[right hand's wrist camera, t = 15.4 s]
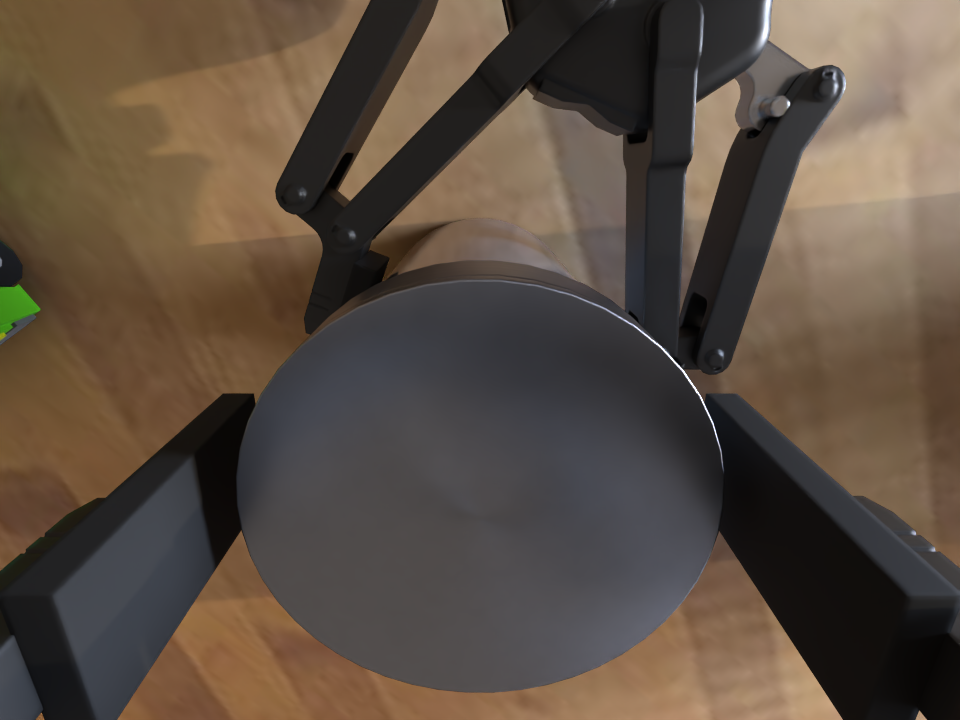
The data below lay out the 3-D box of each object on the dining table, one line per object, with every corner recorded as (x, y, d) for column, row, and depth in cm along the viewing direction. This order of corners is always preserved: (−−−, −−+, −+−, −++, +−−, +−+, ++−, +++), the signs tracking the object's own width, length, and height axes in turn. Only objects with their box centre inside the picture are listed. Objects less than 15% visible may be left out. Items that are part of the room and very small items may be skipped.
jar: (609, 290, 25) (779, 455, 11) (500, 425, 28) (522, 705, 13) (456, 177, 23) (419, 196, 9) (354, 332, 26) (199, 540, 12)
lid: (457, 154, 10) (452, 151, 8) (775, 450, 12) (827, 500, 10) (192, 482, 12) (143, 536, 11) (495, 679, 15) (497, 752, 13)
